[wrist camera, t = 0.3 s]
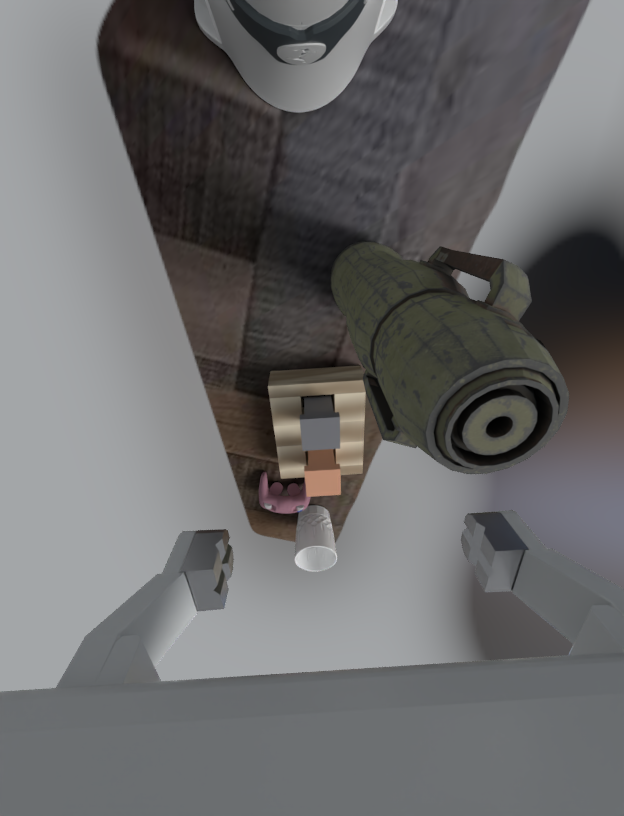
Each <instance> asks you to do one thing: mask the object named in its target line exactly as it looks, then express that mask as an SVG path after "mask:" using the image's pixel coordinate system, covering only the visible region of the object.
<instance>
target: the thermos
mask: <svg viewBox="0 0 624 816" xmlns="http://www.w3.org/2000/svg"><path fill="white" fill-rule="evenodd" d="M455 269H458V270H460V271H462V272H465V273H468V274H470V275H473V276H475V277H478V278H481V279H483V280H486V281H489V282H490V289H491V291H490V293H489V294H488V296H487V298H486V300H485V302H482V301H479V300H478V301H475V300H472V299H470V298H469V296H468V294H467V292H466V289H465V288H464V287H463V286H462V285H461V284H459V283H458V282H457V280H456V279H454V278H453V277H452V276H451V274H452V272H453V270H455ZM331 289H332V292H333V296H334V299H335V301H336V304H337V306H338V308H339V309H340V310H341V312H342V313H343V315H345V316H346V317H347V320H346V324H347V327H348V331H349V334H350V338H351V340H352V343H353V345H354V348H355V350H356V353H357V355H358V358H359V360H360V361H361V363H362V365H363V367H364V368H365V369H366V371H365V373H364V376H363V382H364V387H365V391H366V394H367V397H368V399H369V402H370V405H371V408H372V410H373V413H374V416H375V419H376V421H377V424H378V427H379V430H380V432H381V435H382V438H383V440H386V441H390V442H393V443H398V444H401V445H405V446H409V447H413V448H416V447H417V446H418V447H419V448H420V449H422V450H423V451H424V452H425V453H427V454H428V455H430V456H431V457H432V458H433V459H434V460H436V461H437V462H439V463H440V464H442V465H444V466H445V467H447V468H448V469H450V470H453V471H457V472H462V473H466V474H483V473H485V474H486V473H491V472H495V471H499V470H503V469H507V468H509V467H511V466H513V465H515V464H518V463H520V462H522V461H524V460H526V459H528V458H529V457H530V456H532V455H533V454H534V453H536V452H537V451H538V450H540V449H541V448H542V447H544V446H545V445H546V444H547V443H548V441H549V440H550V439H551V438H552V437H553V436H554V434H555V433H556V432H557V431H558V430H559V428H560V426H561V424H562V422H563V420H564V418H565V415H566V413H567V409H568V399H569V392H568V389H567V387H566V384H565V381H564V378H563V376H562V375H561V373H560V371H559V369H558V368H557V366H556V364H555V362H554V361H553V359H552V357H551V356H550V354H549V352H548V350H547V349H546V348H545V346H544V345H543V343H542V342H541V341H540V340H538V339H536V338H535V337H534V336H532V335H531V334H530V333H529V332H528V331H527V330H526V329H525V328H524V326H523V325H522V324H521V323H520V322H519V320H520V318H521V317H522V315H523V314H524V312H525V311H526V309H527V308H528V306H529V304H530V303H531V301H532V300H531V294H530V288H529V281H528V276H527V275H526V274H525V273H524V272H523V271H522V270H521V269H520V268H519V267H518V266H517V265H514V264H512V263H510V262H508V261H506V260H503V259H498V258H492V257H486V256H481V255H476V254H470V253H465V252H459V251H454V250H450V249H447V248H444V247H441V246H440V247H439V248H438V249H437V250H436V251H435V252H434V254H433V255H432V256H431V257H430V258H429V261H428V262H426V261H422V260H420V263H419V262H416V261H413V260H403V258H402V257H401V256H400V255H399V254H397V253H396V252H395V251H394V250H392V249H391V248H389V247H387V246H384V245H381V244H379V243H376V242H357V243H355V244H352V245H349V246H348V247H347V248H346V249H344V250H343V251H342V252H341V253H340V254H339V256H338V257H337V258H336V260H335V261H334V264H333V267H332V270H331Z"/></svg>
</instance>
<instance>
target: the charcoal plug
mask: <svg viewBox="0 0 624 816" xmlns="http://www.w3.org/2000/svg"><path fill="white" fill-rule="evenodd" d="M300 428H301V439H302V451H310V450H325V449H340V415H339V412H334V410H333V405H332V399H331V396H319V397H304V414H301V415H300Z"/></svg>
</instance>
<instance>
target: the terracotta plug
mask: <svg viewBox="0 0 624 816" xmlns="http://www.w3.org/2000/svg"><path fill="white" fill-rule="evenodd" d="M304 473H305V484H306V495H307V497H312V496H327V495H341V476H340V464H335V459H334V452H333V449H325V450H310V451H308V466H304Z"/></svg>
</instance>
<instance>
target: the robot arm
mask: <svg viewBox="0 0 624 816" xmlns="http://www.w3.org/2000/svg"><path fill="white" fill-rule="evenodd" d="M397 2H398V0H194V10H195V16H196V20H197V23H198V25H199V27H200V29H201V31H202V32H203V33H204V34H205V35H206V36H207V37H208V38H209V39H210V40H211V41H212V42H213V43H215V44H216V45H217V46H218V47H220V48H221V49H222V50H224V51H225V52H226V53H227V54H228V56H229V57H230V58H231V60H232V61H233V63H234V65H235V66H236V68H237V70H238V71H239V73H240V75H241V76H242V78H243V79H244V80H245V82H246V83H247V84H248V86H249V87H250V88H251V89H252V90H253V91H254V92H255V93H256V94H257V95H258V96H259V97H260V98H262V99H263V100H264V101H266V102H267V103H269V104H271V105H272V106H274V107H276V108H279V109H281V110H285V111H289V112H308V111H312V110H315V109H318V108H320V107H322V106H324V105H326V104H328V103H329V102H331V101H332V100H333V99H335V98H336V97H337V96H338V95H339V94H340V93H341V92H342V91H343V90H344V89H345V87H346V86H347V85H348V84H349V82H350V81H351V79H352V78H353V76H354V75H355V73H356V71H357V69H358V67H359V65H360V63H361V61H362V58H363V56H364V54H365V52H366V50H367V48H368V47H369V45H370V43H371V42H372V41H373V40H374V39H375V38H376V37H377V36H378V35H379V34H380V33H381V32H382V31H383V30H384V29H385V28H386V27H387V26H388V24H389V23H390V22H391V20H392V19H393V17H394V14H395V11H396V8H397ZM464 523H465V525H466V526H467V528H466V529H465V530H464V531H463V532H462V537H461V542H462V548H463V551H464V554H465V556H466V558H467V560H468V561H469V562H470V563H471V564H473V565H474V566H475V567H476V570H475V575H476V577H477V579H478V580H479V582H480V584H481V586H482V588H483V589H484V591H485V592H501V591H502V592H503V591H512V593H513V594H514V595H515V596H517V597H518V598H519V599H520V600H522V601H523V602H524V603H525V604H526V605H528V606H529V607H530V608H531V609H532V610H533V611H535V612H536V613H537V614H538V615H539V616H541V617H542V618H543V619H544V620H545V621H546V622H548V623H549V624H550V625H551V626H553V627H554V628H555V629H556V630H557V631H558V632H560V633H561V634H562V635H563V636H564V637H565V638H567V639H568V640H569V641H570V642H572V643H573V647H572V648H571V650H570V652H569V655H566V656H550V657H534V658H519V659H503V660H488V661H472V662H457V663H443V664H442V663H441V664H427V665H410V666H397V667H396V666H395V667H379V668H364V669H350V670H335V671H334V670H333V671H319V672H302V673H287V674H271V675H256V676H241V677H226V678H225V677H224V678H209V679H194V680H177V681H162V682H161V680H160V678H159V676H158V674H157V672H156V669H155V666H156V665H157V664H158V663H159V662H160V660H161V659H162V658H163V656H164V655H165V654H166V653H167V651H168V650H169V649H170V647H171V646H172V645H173V644H174V642H175V641H176V640H177V639H178V637H179V636H180V635H181V633H182V632H183V631H184V630H185V628H186V627H187V626H188V624H189V623H190V622H191V621H192V619H193V618H194V616H196V614H197V611H206V610H217V609H224V606H225V602H226V597H227V593H228V585H227V580H228V579H229V578H230V577H231V575H232V570H233V560H234V559H233V550H232V547H231V546H230V545H229V544H228V542H229V538H230V537H229V533H228V530H226V529H224V530H200V531H199V530H198V531H183V532H182V533H181V534H180V535H179V536H178V539H177V541H176V543H175V546H174V548H173V550H172V552H171V554H170V557H169V559H168V561H167V564H166V566H165V568H164V570H163V573H162V574H157V575H156V576H155V577H153V578H152V579H151V580H150V581H149V582H148V583H146V584H145V585H144V586H143V587H142V588H141V589H140V590H139V591H137V592H136V593H135V594H134V595H133V596H131V597H130V598H129V599H128V600H127V601H126V602H125V603H123V604H122V605H121V606H120V607H119V608H118V609H116V610H115V611H114V612H113V613H112V614H111V615H110V616H108V617H107V618H106V619H105V620H104V621H103V622H101V623H100V624H99V625H98V626H97V627H96V628H94V629H93V630H92V631H91V632H90V633H89V634H88V635H86V636H85V638H84V640H83V641H82V643H81V645H80V647H79V648H78V650H77V652H76V654H75V656H74V657H73V659H72V661H71V662H70V664H69V666H68V668H67V669H66V671H65V673H64V674H63V676H62V678H61V680H60V682H59V683H58V685H57V687H56V688H52V689H35V690H20V691H4V692H0V816H624V589H623V588H621V587H619V586H618V585H616V584H614V583H612V582H611V581H609V580H607V579H605V578H603V577H602V576H600V575H598V574H596V573H594V572H593V571H591V570H589V569H587V568H585V567H584V566H582V565H580V564H578V563H576V562H575V561H573V560H571V559H569V558H567V557H565V556H564V555H562V554H560V553H558V552H557V551H555V550H553V549H547V548H546V547H545V546H544V545H543V544H542V542H541V541H540V540H539V539H538V538H537V537H536V535H535V534H534V533H533V532H532V530H531V529H530V528H529V527H528V526H527V525H526V523H525V522H524V521H523V520H522V519H521V517H520V516H519V515H518V514H517V513H516V512H515V511H513V510H510V511H498V512H483V513H471V514H467V515H466V516H465V521H464Z"/></svg>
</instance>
